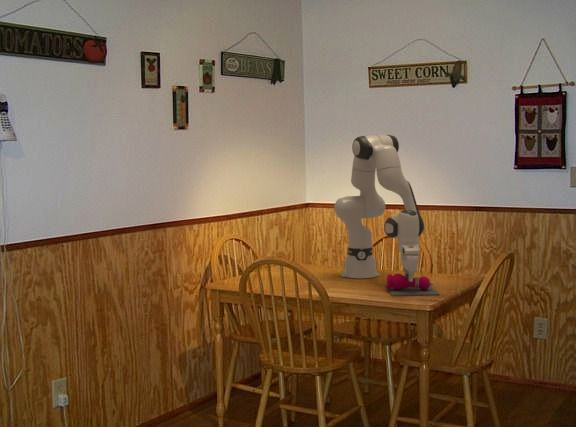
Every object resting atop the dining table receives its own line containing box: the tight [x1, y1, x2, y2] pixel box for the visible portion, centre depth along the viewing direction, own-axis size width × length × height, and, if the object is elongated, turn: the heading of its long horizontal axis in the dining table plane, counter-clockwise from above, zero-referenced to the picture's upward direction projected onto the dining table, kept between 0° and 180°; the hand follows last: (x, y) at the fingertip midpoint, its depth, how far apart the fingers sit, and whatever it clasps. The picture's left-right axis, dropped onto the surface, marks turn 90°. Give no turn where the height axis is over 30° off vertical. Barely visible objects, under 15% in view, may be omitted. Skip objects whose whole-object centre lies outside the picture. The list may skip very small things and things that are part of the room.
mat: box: [384, 284, 440, 297], centre depth 343 cm, size 22×20×1 cm
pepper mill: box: [386, 273, 434, 290], centre depth 342 cm, size 7×7×20 cm
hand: (408, 279), depth 343 cm, fingers open, 8 cm apart
